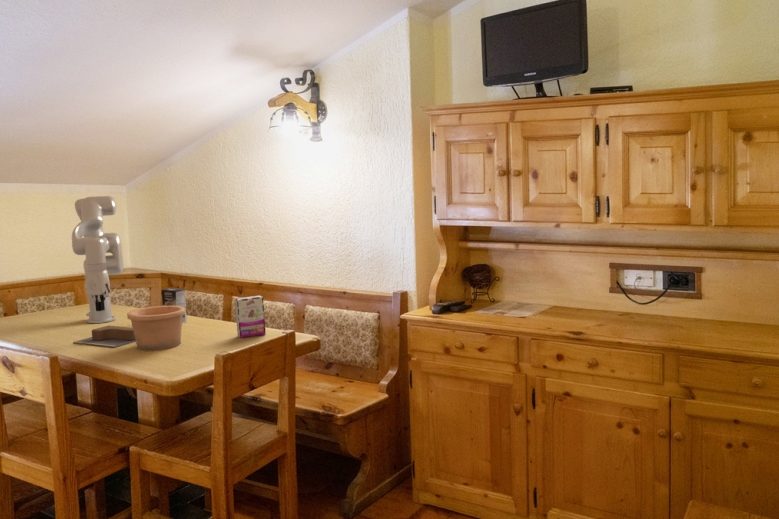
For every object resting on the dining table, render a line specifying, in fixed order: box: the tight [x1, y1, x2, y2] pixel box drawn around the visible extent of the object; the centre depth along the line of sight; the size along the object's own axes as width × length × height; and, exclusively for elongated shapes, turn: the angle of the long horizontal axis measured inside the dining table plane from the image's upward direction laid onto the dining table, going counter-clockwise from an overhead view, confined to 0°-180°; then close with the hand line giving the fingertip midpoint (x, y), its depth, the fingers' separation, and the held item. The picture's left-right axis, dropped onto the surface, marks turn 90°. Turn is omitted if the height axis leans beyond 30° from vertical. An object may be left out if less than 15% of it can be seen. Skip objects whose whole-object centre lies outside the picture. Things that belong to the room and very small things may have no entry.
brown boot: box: [91, 325, 135, 341], centre depth 269 cm, size 9×4×18 cm
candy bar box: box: [234, 295, 266, 339], centre depth 270 cm, size 11×5×16 cm, turn 118°
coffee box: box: [161, 287, 188, 324], centre depth 301 cm, size 9×6×16 cm
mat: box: [72, 336, 136, 349], centre depth 270 cm, size 24×18×1 cm
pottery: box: [126, 305, 185, 352], centre depth 258 cm, size 22×22×14 cm
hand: (100, 310), depth 271 cm, fingers closed
